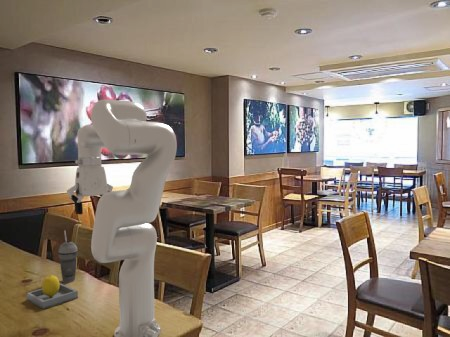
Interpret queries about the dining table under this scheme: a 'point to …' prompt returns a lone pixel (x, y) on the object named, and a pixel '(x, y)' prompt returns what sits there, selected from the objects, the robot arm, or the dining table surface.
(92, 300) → the dining table surface
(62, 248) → the beverage cup
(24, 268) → the dining table surface
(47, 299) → the tray
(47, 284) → the lemon
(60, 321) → the dining table surface
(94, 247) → the robot arm
